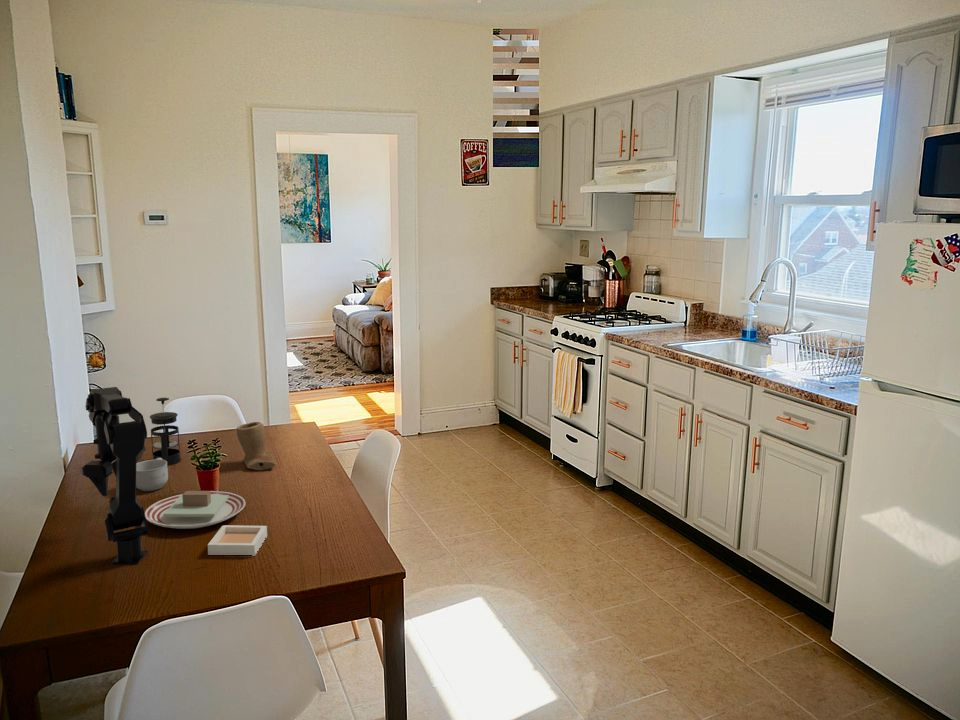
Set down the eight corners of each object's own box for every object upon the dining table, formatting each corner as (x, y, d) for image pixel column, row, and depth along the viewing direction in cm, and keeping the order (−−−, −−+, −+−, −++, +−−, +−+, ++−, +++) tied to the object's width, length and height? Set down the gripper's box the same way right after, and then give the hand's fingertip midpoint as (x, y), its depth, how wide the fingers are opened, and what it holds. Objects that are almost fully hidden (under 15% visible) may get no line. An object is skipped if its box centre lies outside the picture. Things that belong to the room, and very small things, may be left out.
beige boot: (236, 460, 262) (234, 419, 259) (271, 456, 266) (269, 416, 263) (240, 474, 248) (238, 431, 245) (277, 470, 253) (275, 428, 250)
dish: (254, 556, 190) (254, 545, 189) (208, 555, 190) (207, 544, 189) (267, 536, 202) (266, 525, 201) (223, 535, 202) (222, 525, 201)
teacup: (155, 495, 228) (153, 471, 227) (124, 492, 231) (122, 468, 229) (181, 480, 242) (180, 457, 240) (152, 477, 244) (150, 454, 242)
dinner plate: (147, 505, 222) (147, 494, 221) (242, 494, 232) (242, 484, 231) (142, 543, 197) (141, 531, 196) (249, 529, 206) (248, 518, 206)
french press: (153, 457, 263) (149, 395, 258) (181, 455, 266) (177, 393, 261) (150, 468, 252) (146, 403, 247) (180, 466, 255) (176, 401, 250)
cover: (214, 516, 207) (213, 502, 206) (163, 516, 206) (162, 502, 205) (228, 497, 220) (228, 484, 220) (181, 497, 220) (180, 483, 219)
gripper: (122, 445, 186) (127, 503, 190) (153, 424, 205) (157, 477, 208) (78, 444, 186) (83, 502, 189) (113, 423, 204) (117, 477, 208)
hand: (113, 489), depth 198 cm, fingers open, 9 cm apart
